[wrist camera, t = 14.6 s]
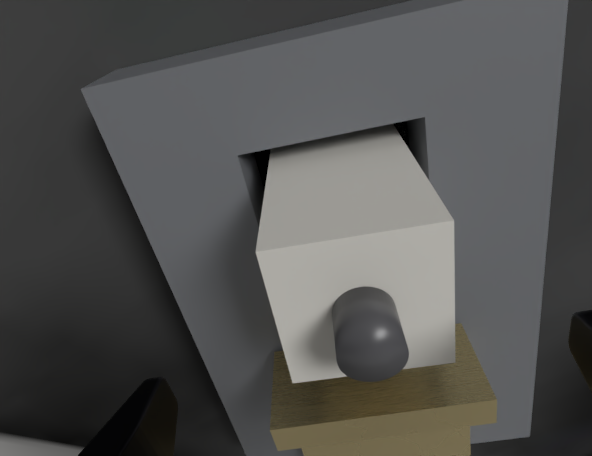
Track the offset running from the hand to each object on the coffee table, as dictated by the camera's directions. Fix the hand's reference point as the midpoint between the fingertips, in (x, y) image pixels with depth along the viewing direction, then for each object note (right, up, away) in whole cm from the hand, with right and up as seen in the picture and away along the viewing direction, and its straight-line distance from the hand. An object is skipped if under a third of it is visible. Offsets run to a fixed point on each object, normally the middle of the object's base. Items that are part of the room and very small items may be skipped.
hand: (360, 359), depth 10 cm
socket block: (+1, +1, +10) cm, 10 cm away
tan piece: (+2, -5, +10) cm, 11 cm away
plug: (0, +5, +8) cm, 10 cm away
